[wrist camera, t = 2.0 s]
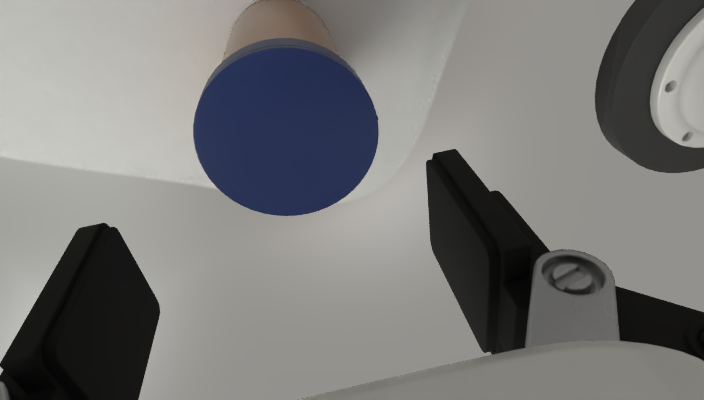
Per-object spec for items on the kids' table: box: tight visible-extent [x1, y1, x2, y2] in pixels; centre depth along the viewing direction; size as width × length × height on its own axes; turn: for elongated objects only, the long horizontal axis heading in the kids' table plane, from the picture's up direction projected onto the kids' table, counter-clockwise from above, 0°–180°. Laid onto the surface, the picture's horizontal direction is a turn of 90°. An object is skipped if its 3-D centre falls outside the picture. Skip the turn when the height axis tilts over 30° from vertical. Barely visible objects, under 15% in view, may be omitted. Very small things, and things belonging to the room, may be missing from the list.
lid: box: [193, 38, 378, 216], centre depth 17 cm, size 7×7×1 cm
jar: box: [222, 0, 340, 62], centre depth 21 cm, size 6×6×12 cm
